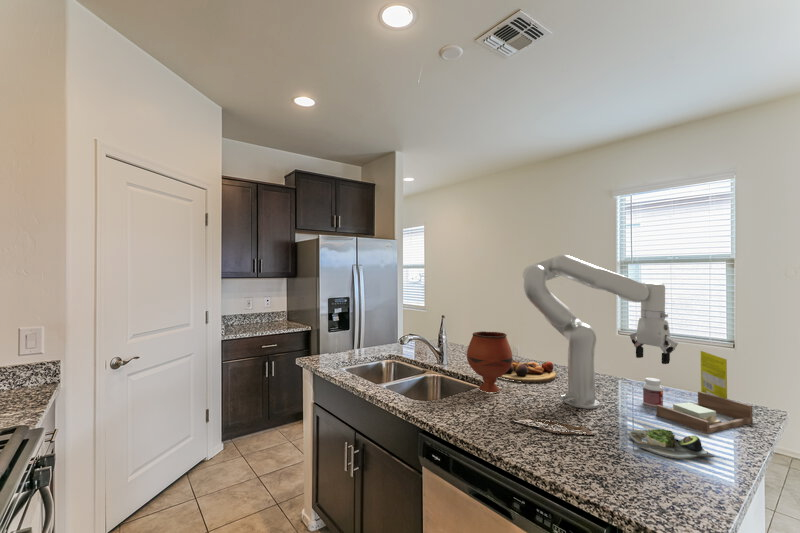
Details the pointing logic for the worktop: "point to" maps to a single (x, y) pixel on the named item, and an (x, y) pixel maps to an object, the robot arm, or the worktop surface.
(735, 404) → the walnut rack
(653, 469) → the worktop surface
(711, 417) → the ash offcut
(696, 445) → the salad plate
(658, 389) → the pill bottle
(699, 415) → the sage painted offcut
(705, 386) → the food package
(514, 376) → the wooden plate with food
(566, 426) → the wooden fragment
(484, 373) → the goblet
